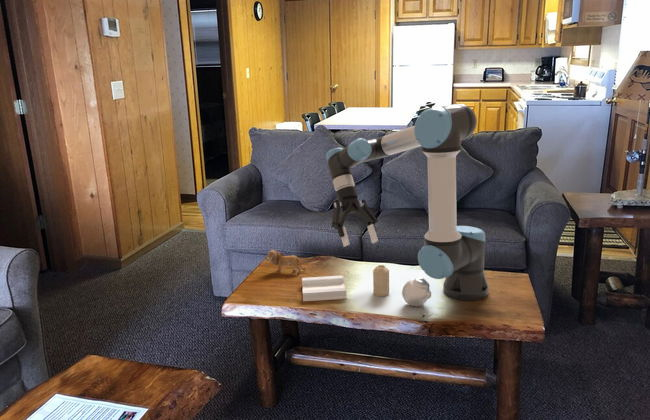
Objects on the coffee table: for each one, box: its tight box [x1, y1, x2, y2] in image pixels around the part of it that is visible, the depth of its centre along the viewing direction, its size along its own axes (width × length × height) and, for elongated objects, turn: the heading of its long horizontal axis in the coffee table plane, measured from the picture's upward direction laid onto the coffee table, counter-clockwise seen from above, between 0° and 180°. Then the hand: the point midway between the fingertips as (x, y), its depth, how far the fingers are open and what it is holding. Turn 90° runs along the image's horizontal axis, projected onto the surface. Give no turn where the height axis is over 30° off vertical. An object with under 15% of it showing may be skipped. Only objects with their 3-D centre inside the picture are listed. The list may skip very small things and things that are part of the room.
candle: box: [372, 264, 390, 297], centre depth 187 cm, size 6×6×10 cm
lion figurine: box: [267, 249, 307, 275], centre depth 210 cm, size 15×5×9 cm, turn 87°
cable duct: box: [301, 275, 348, 302], centre depth 191 cm, size 15×13×3 cm
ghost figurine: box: [401, 276, 432, 307], centre depth 177 cm, size 9×10×10 cm
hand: (361, 243), depth 192 cm, fingers open, 13 cm apart
